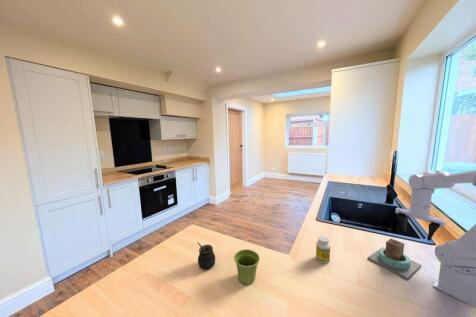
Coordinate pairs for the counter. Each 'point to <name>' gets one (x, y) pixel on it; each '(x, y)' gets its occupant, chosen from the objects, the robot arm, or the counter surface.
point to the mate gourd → (206, 257)
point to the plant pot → (246, 265)
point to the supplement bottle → (323, 250)
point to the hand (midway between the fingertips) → (416, 235)
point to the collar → (395, 264)
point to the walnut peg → (394, 250)
